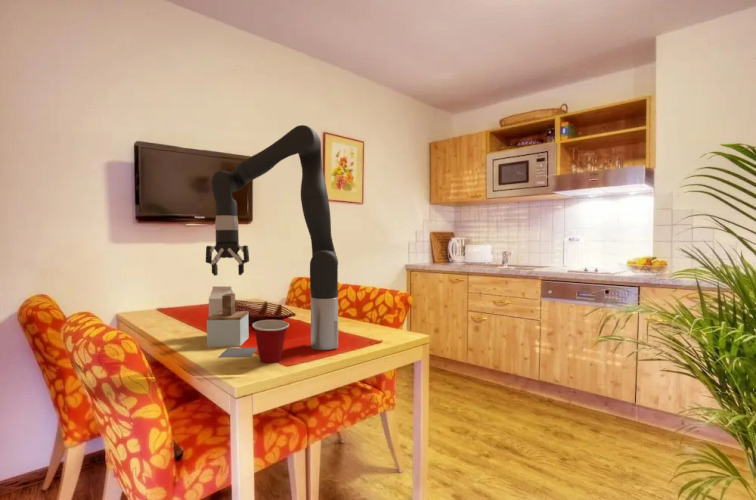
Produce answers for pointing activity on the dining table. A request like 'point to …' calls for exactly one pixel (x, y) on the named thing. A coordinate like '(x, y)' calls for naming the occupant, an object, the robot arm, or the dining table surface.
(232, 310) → the wooden t-shaped stand
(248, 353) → the mat
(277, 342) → the plastic cup
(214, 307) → the milk carton
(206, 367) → the dining table surface
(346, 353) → the dining table surface
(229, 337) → the grey storage bin
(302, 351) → the dining table surface
